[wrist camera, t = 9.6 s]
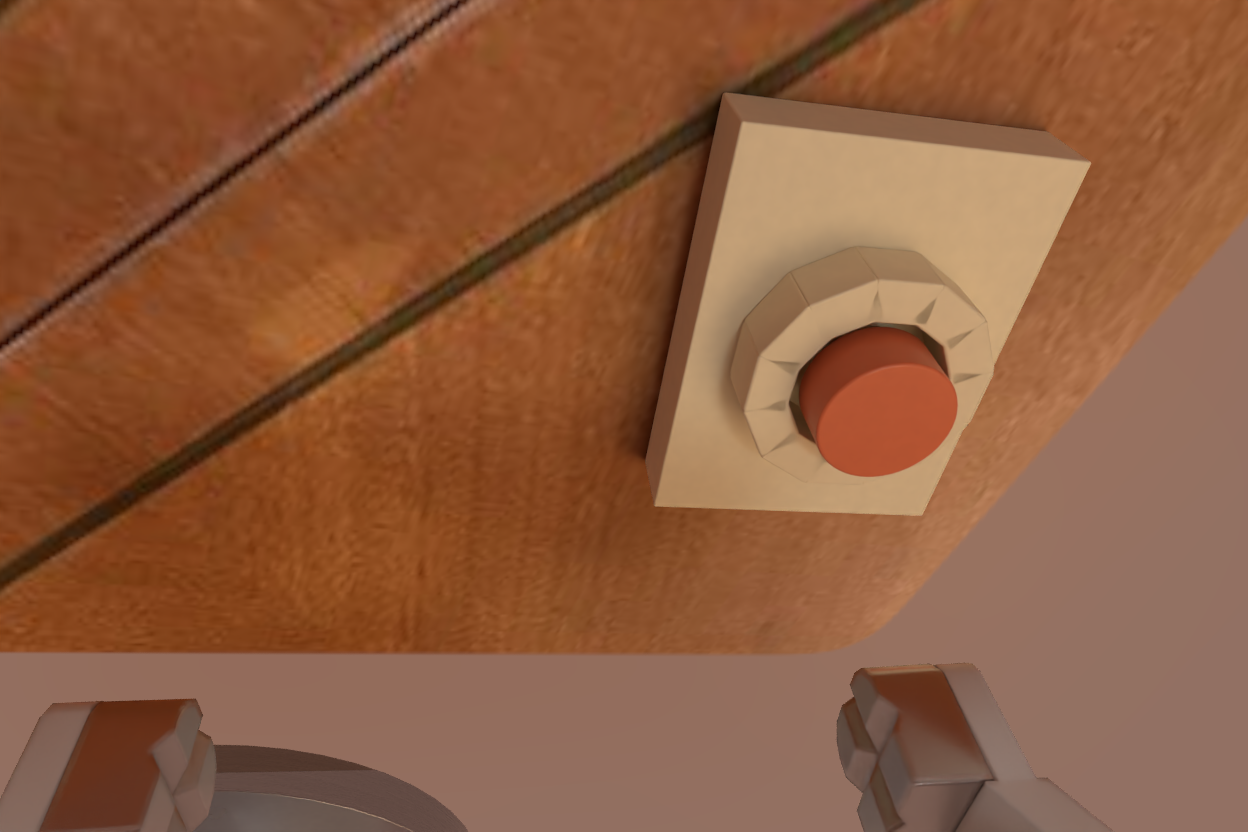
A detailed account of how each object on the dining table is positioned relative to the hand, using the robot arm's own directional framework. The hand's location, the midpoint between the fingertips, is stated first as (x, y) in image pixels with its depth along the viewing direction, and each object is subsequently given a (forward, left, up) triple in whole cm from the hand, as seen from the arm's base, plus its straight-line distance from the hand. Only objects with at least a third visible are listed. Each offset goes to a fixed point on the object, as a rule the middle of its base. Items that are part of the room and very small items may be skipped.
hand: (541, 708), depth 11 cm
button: (-2, -9, -11) cm, 15 cm away
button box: (-2, -9, -15) cm, 18 cm away
